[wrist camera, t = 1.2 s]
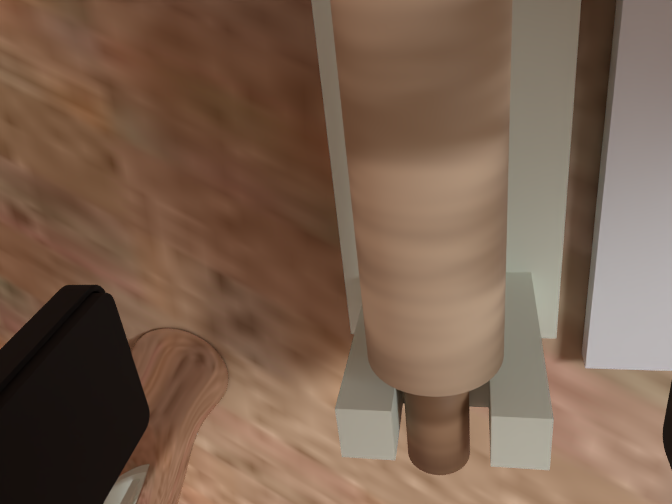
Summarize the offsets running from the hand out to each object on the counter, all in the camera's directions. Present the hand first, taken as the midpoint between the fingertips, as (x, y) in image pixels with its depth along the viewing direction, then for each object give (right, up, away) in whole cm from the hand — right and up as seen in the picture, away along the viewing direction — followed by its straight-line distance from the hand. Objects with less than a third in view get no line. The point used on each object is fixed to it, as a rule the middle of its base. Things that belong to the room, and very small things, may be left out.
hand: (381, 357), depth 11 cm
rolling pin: (+3, +6, +10) cm, 12 cm away
